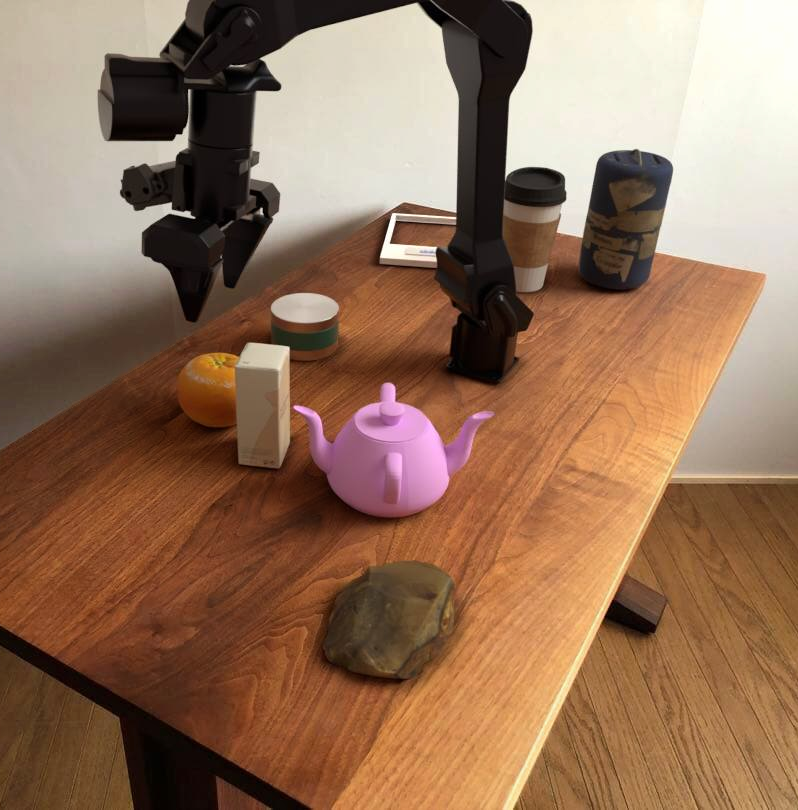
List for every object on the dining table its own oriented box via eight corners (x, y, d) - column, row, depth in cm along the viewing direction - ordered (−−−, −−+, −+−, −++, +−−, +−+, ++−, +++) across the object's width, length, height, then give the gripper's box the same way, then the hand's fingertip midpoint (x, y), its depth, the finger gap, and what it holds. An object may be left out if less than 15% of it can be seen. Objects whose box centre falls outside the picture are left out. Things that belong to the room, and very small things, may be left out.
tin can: (350, 340, 111) (352, 303, 108) (314, 368, 105) (315, 329, 102) (295, 323, 115) (295, 287, 112) (257, 349, 109) (256, 311, 106)
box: (279, 470, 88) (278, 371, 82) (236, 465, 89) (232, 366, 83) (291, 440, 93) (290, 344, 87) (250, 435, 93) (246, 340, 87)
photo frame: (379, 256, 129) (392, 212, 144) (379, 263, 130) (392, 218, 145) (484, 264, 127) (486, 218, 142) (483, 271, 128) (485, 225, 143)
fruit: (287, 385, 95) (241, 329, 92) (242, 445, 91) (192, 389, 88) (241, 389, 102) (196, 337, 98) (197, 446, 98) (148, 393, 94)
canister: (571, 287, 123) (594, 156, 114) (580, 261, 131) (602, 136, 121) (645, 299, 120) (675, 165, 111) (650, 272, 128) (679, 144, 118)
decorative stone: (428, 701, 65) (432, 668, 64) (306, 663, 68) (307, 630, 66) (462, 603, 74) (466, 571, 72) (352, 573, 77) (354, 541, 75)
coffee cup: (561, 279, 126) (578, 172, 118) (539, 302, 120) (556, 191, 112) (503, 266, 130) (516, 161, 122) (479, 287, 124) (492, 179, 116)
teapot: (292, 483, 87) (292, 404, 82) (397, 432, 94) (403, 357, 89) (378, 548, 79) (383, 464, 74) (485, 487, 86) (496, 408, 81)
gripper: (181, 107, 90) (176, 256, 97) (84, 146, 74) (87, 321, 82) (288, 126, 87) (274, 278, 95) (210, 171, 71) (201, 349, 79)
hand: (211, 303), depth 88 cm, fingers open, 9 cm apart
